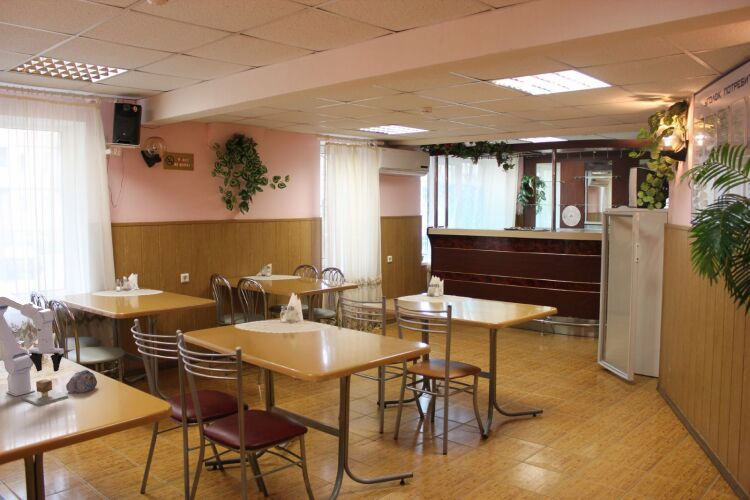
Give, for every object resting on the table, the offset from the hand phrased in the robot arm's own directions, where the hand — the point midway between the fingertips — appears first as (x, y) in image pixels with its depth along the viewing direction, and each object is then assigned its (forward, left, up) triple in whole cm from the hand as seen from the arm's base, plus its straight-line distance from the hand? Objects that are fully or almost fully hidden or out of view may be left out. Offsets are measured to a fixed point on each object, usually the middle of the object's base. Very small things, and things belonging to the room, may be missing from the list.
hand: (47, 370), depth 259 cm
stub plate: (+3, -3, -10) cm, 11 cm away
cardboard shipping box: (+3, -3, -7) cm, 8 cm away
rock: (+5, +11, -11) cm, 16 cm away
